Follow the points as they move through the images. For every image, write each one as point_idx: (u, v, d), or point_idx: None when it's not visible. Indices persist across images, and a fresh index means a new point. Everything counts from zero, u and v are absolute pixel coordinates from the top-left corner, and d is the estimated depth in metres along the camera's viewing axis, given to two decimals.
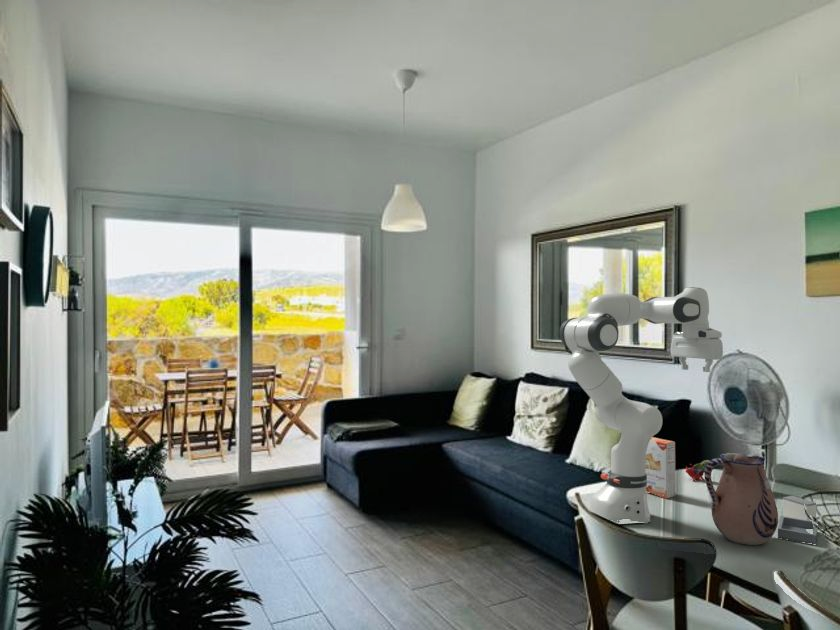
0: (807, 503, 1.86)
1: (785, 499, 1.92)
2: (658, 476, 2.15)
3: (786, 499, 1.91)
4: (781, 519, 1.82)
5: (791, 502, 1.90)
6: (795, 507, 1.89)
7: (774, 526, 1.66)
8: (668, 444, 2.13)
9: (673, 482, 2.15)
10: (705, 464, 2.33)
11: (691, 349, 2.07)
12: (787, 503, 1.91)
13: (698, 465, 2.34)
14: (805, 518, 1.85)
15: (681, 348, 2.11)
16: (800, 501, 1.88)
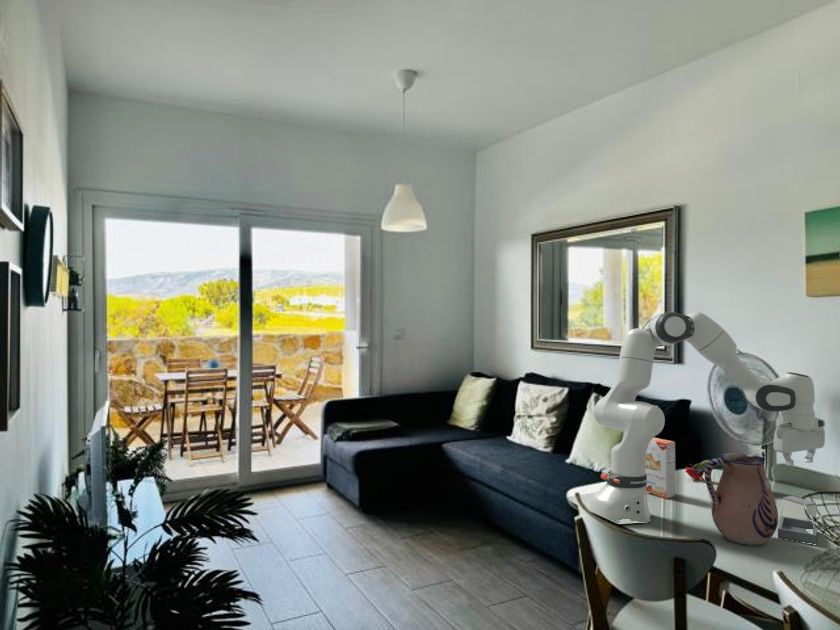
0: (807, 503, 1.86)
1: (785, 499, 1.92)
2: (658, 476, 2.15)
3: (786, 499, 1.91)
4: (781, 519, 1.82)
5: (791, 502, 1.90)
6: (795, 507, 1.88)
7: (774, 526, 1.66)
8: (668, 444, 2.13)
9: (673, 483, 2.15)
10: (705, 464, 2.33)
11: (804, 441, 1.88)
12: (787, 503, 1.91)
13: (698, 465, 2.34)
14: (806, 518, 1.85)
15: (794, 442, 1.86)
16: (800, 501, 1.88)
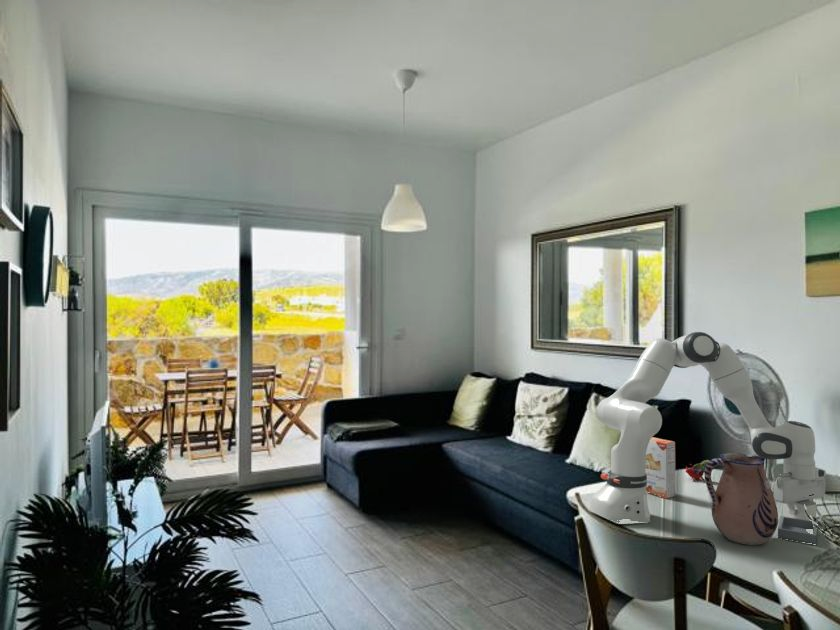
0: (807, 503, 1.86)
1: None
2: (658, 476, 2.15)
3: None
4: (781, 519, 1.82)
5: None
6: (795, 507, 1.88)
7: (774, 526, 1.66)
8: (668, 444, 2.13)
9: (673, 483, 2.15)
10: (705, 464, 2.33)
11: (804, 491, 1.88)
12: None
13: (698, 465, 2.34)
14: (806, 518, 1.85)
15: (794, 492, 1.86)
16: (800, 501, 1.88)
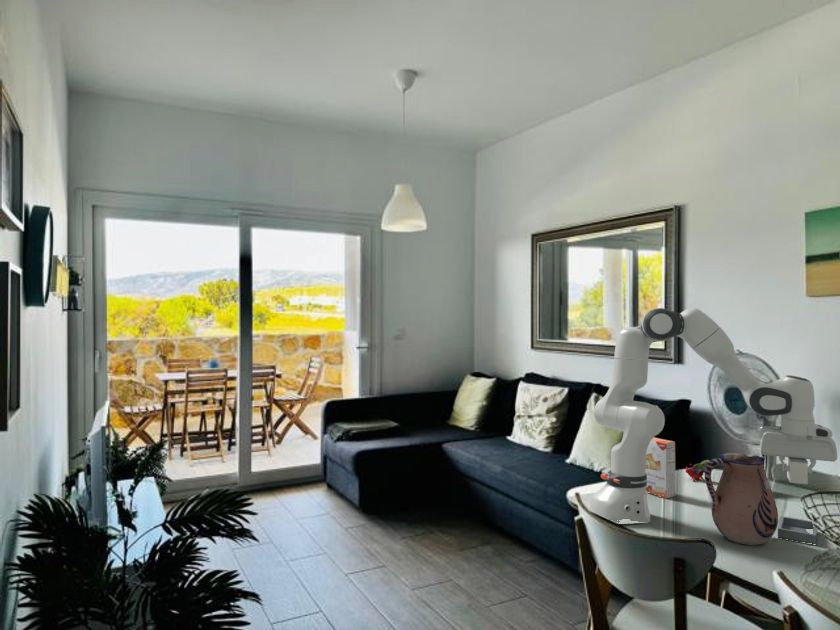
0: (795, 459, 1.77)
1: None
2: (658, 476, 2.15)
3: None
4: (781, 519, 1.82)
5: (788, 458, 1.82)
6: (788, 463, 1.81)
7: (774, 526, 1.66)
8: (668, 444, 2.13)
9: (673, 483, 2.15)
10: (705, 464, 2.33)
11: (797, 448, 1.78)
12: (787, 460, 1.83)
13: (698, 465, 2.34)
14: (790, 474, 1.77)
15: (780, 446, 1.80)
16: (793, 458, 1.79)
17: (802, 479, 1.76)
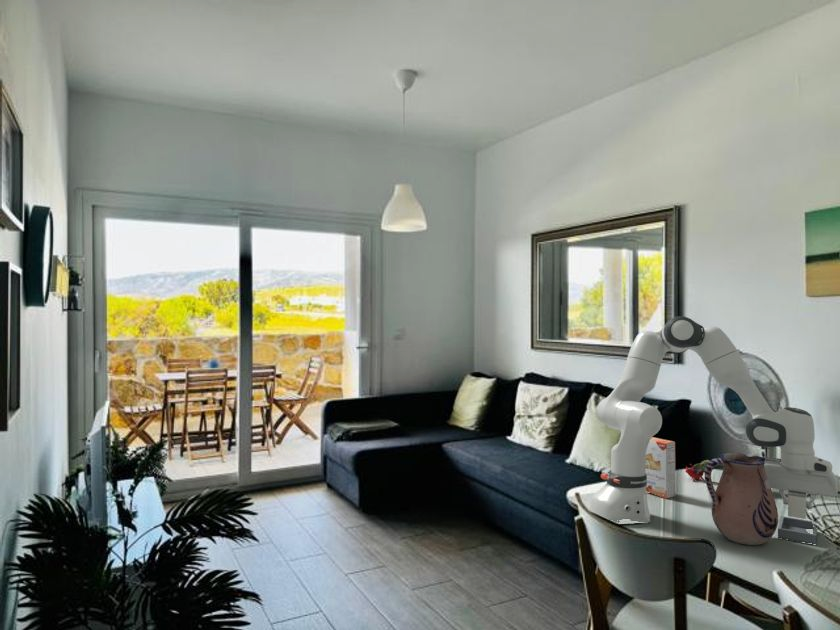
0: (793, 493, 1.75)
1: None
2: (658, 476, 2.15)
3: None
4: (781, 519, 1.82)
5: None
6: None
7: (774, 526, 1.66)
8: (668, 444, 2.13)
9: (673, 483, 2.15)
10: (705, 464, 2.33)
11: (796, 482, 1.76)
12: None
13: (698, 465, 2.34)
14: (788, 507, 1.76)
15: (779, 479, 1.79)
16: (792, 491, 1.77)
17: (799, 513, 1.74)
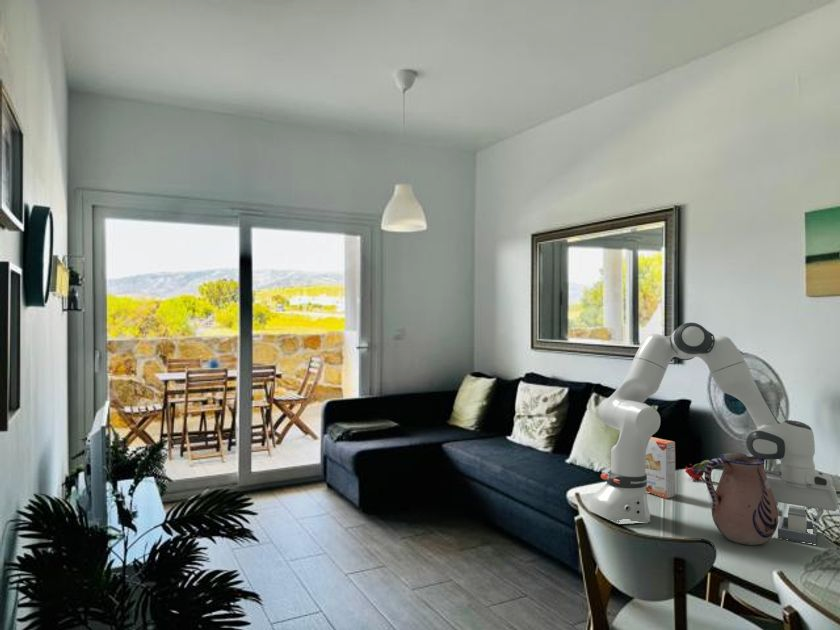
0: (793, 512, 1.75)
1: (789, 507, 1.81)
2: (658, 476, 2.15)
3: (789, 507, 1.81)
4: (781, 519, 1.82)
5: None
6: None
7: (774, 526, 1.66)
8: (668, 444, 2.13)
9: (673, 483, 2.15)
10: (705, 464, 2.33)
11: (796, 495, 1.76)
12: None
13: (698, 465, 2.34)
14: (788, 527, 1.76)
15: (779, 492, 1.79)
16: (793, 510, 1.77)
17: None
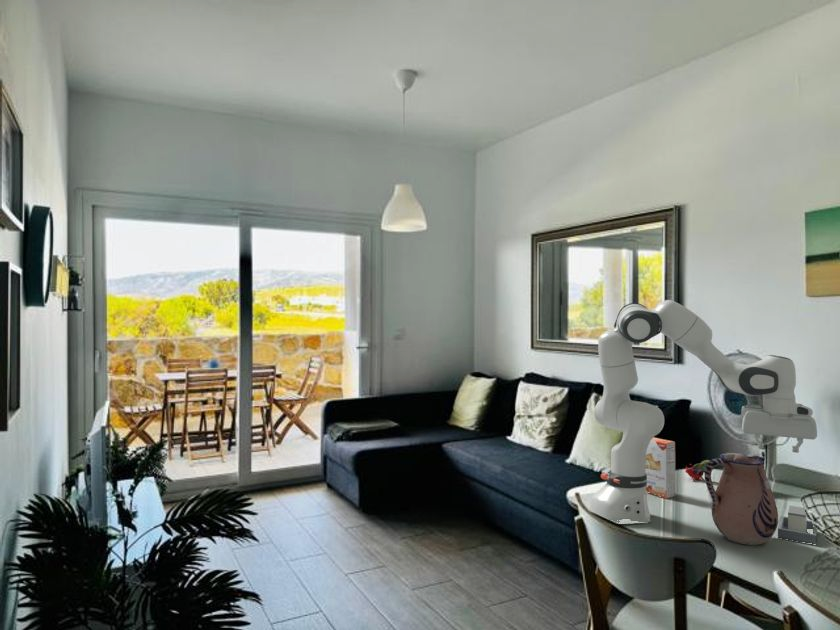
0: (793, 512, 1.75)
1: (789, 507, 1.81)
2: (658, 476, 2.15)
3: (789, 507, 1.81)
4: (781, 519, 1.82)
5: None
6: None
7: (774, 526, 1.66)
8: (668, 444, 2.13)
9: (673, 482, 2.15)
10: (705, 464, 2.33)
11: (778, 426, 1.81)
12: None
13: (698, 465, 2.34)
14: (788, 527, 1.76)
15: (762, 424, 1.83)
16: (793, 510, 1.77)
17: None
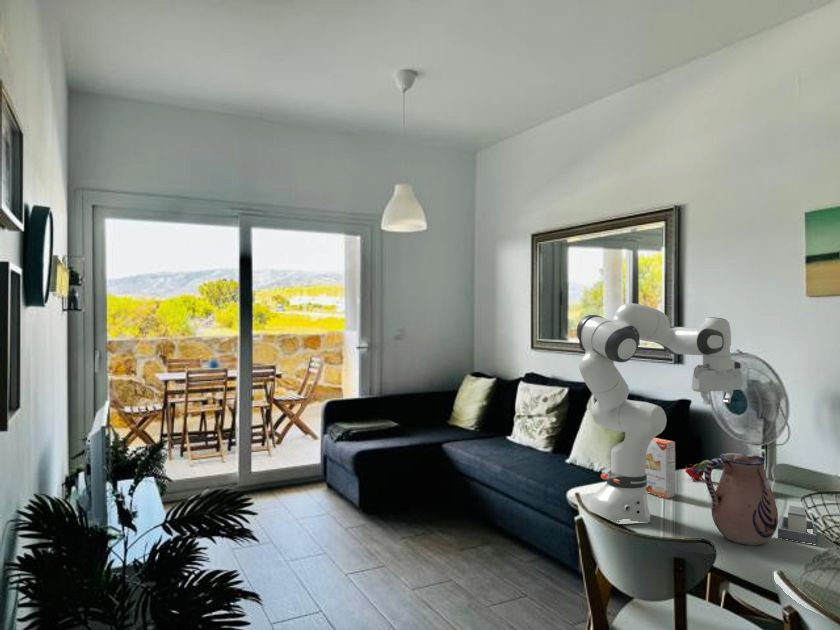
0: (793, 512, 1.75)
1: (789, 507, 1.81)
2: (658, 476, 2.15)
3: (789, 507, 1.81)
4: (781, 519, 1.82)
5: None
6: None
7: (774, 526, 1.66)
8: (668, 444, 2.13)
9: (673, 483, 2.15)
10: (705, 464, 2.33)
11: (721, 382, 1.99)
12: None
13: (698, 465, 2.34)
14: (788, 527, 1.76)
15: (711, 382, 1.97)
16: (793, 510, 1.77)
17: None
